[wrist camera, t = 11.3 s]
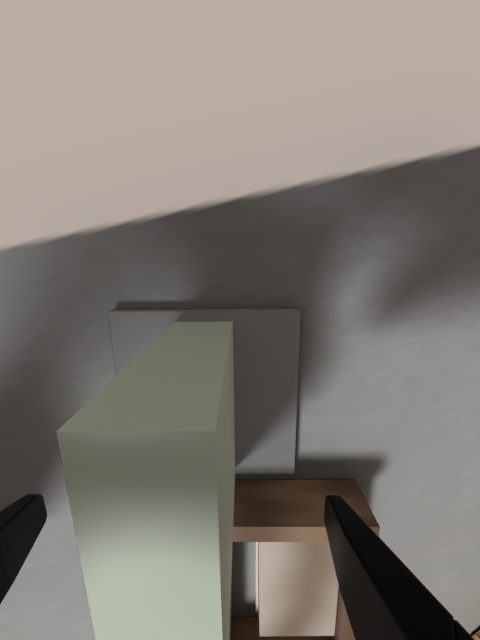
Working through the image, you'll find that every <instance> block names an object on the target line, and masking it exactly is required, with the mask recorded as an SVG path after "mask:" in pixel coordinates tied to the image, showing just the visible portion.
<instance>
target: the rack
mask: <svg viewBox="0 0 480 640" xmlns="http://www.w3.org/2000/svg"><path fill="white" fill-rule="evenodd" d="M327 494H338V495H340V496H341V497H342V498H343V499H344V500H345V501H346V502H347V503H348V504H349V505H350V506H351V508H352V509H353V510H354V511H355V512H356V513H357V514H358V515H359V516H360V517H361V518H362V519H363V520H364V521H365V523H366V524H367V525H368V526H369V527H370V528H371V529H372V530H373V531H374V532H375V533H376V534H377V535H378V536H379V529H380V527H379V525H378V523H377V521H376V519H375V517H374V515H373V513H372V511H371V509H370V507H369V505H368V503H367V501H366V499H365V497H364V495H363V493H362V491H361V490H360V488H359V486H358V484H357V482H356V480H235V491H234V519H233V542H329V541H328V536H327V532H326V527H325V522H324V507H325V497H326V495H327ZM354 639H355V637H354V634H353V631H352V628H351V624H350V621H349V618H348V615H347V612H346V608H345V605H344V602H343V599H342V595H341V592H340V589H339V588H338V600H337V611H336V623H335V634H334V636H261V637H260V635H259V617H232V607H231V603H230V632H229V640H354Z"/></svg>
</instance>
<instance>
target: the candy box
mask: <svg viewBox="0 0 480 640" xmlns="http://www.w3.org/2000/svg"><path fill="white" fill-rule="evenodd" d="M472 637H473V638H474V640H480V630H479V631H478V632H477V633H475V634H474V635H473V636H472Z"/></svg>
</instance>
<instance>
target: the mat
mask: <svg viewBox="0 0 480 640" xmlns="http://www.w3.org/2000/svg"><path fill="white" fill-rule="evenodd" d="M108 313H109V322H110V330H111V338H112V346H113V354H114V362H115V370H116V376H117V375H118V374H119V373H120V372H121V371H122V370H124V369H125V368H126V367H127V366H128V365H129V364H130V363H131V362H132V361H133V360H134V359H136V358H137V357H138V356H139V355H140V354H141V353H142V352H143V351H144V350H145V349H146V348H148V347H149V346H150V345H151V344H152V343H153V342H154V341H155V340H156V339H157V338H158V337H160V336H161V335H162V334H163V333H164V332H165V331H166V330H167V329H168V328H169V327H170V326H171V325H173V324H174V323H175V322H215V321H233V362H234V420H235V474H294V466H295V442H296V419H297V395H298V371H299V348H300V324H301V310H300V309H299V308H257V309H137V310H112V311H109V312H108Z"/></svg>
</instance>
